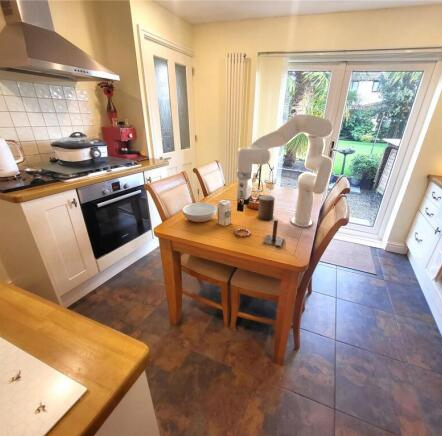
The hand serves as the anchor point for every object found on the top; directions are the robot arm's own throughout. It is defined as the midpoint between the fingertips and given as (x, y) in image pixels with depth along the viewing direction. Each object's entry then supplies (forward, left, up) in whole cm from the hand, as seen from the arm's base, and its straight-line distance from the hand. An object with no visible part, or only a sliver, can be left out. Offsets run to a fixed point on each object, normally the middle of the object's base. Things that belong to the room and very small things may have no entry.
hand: (243, 207), depth 119 cm
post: (-2, +17, -18) cm, 25 cm away
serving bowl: (-14, -32, -18) cm, 39 cm away
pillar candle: (-31, +6, -18) cm, 36 cm away
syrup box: (-12, -15, -18) cm, 26 cm away
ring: (-4, -1, -17) cm, 17 cm away
